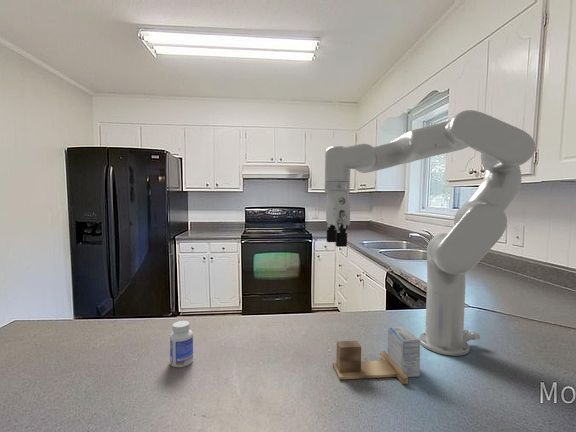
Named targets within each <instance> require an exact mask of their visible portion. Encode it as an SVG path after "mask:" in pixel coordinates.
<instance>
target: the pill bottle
mask: <svg viewBox="0 0 576 432" xmlns="http://www.w3.org/2000/svg"><path fill="white" fill-rule="evenodd" d="M190 327H191V325H190V322H189V321H187V320H180V321H179V320H178V321H176V322H174V323H173V324H172V327H171V328H172V332H171V333H170V335H169V364H170V366H172V367H174V368H184V367H187V366H190V365H191V364H192V363H193V362H194V333H193V330H191V329H190Z"/></svg>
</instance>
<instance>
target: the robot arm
mask: <svg viewBox="0 0 576 432" xmlns="http://www.w3.org/2000/svg"><path fill="white" fill-rule="evenodd" d="M467 148H470V149H473V150H475V151H476V152H478V153H480V160H481V164H482V167H483V169H484V177H483V179H482V181H481V183H480V184H479V185H478V187H477V188H476V190H475V191H473V193H472V194H471V195H470V196H469V197H468V199H467V200H466V201H465V202H464V203H463V204H462V206H461V207H460V208H459V209H458V210H457V211H456V213H455V215H454V217H453V222H454V226H453V228H451V230H450V231H449V232H447V233H445V232H444V233H438V234H437V235H435V236H433V237H432V238H431V239H429V240H430V241H429V242H428V244H427V247H426V299H425V300H426V302H425V303H426V304H425V305H426V306H425V332H423V333H421V334H420V335H419V338H418V339H419V340H420V345H422V347H424V348H426V350H427V349H428V350H430V351H432V352H434V353H437V354H440V355H445V356H453V357H458V356H465V355H467V354H468V353H469V352H470V344H469V343H468V342H470V341H471V340H472V341H478V340H480V339H481V337H480V334H479V332H469V330H467V329H465V303H466V302H465V301H466V273H468V272H470V271H471V270H472V269H474V268H475V267H476V266H477V265H478V264H479V263H480V262H481V260H483V258H485V256H486V255H487V253H489V251H490V250H491V249H492V248H493V247H494V246H495V245H496V244H497V242H498V241H500V239H501V238H502V237H503V235H504V233H505V232H506V229H507V225H508V219H507V214H506V212H505V211H506V210H507V208H508V207H509V205H510V204H511V203H512V202H513V200H514V199H515V198H516V196H518V193H519V191H520V189H521V185H522V171H521V166H522V165H524V164H525V163H527V162H529V160H531V158H532V157H533V156H534V154H535V151H536V142H535V140H534V138H533V137H532V136H531V135H530V134H529V133H528V132H526V130H523V129H521V128H518V127H517V126H514V125H512V124H510V123H507V122H505V121H502V120H501V119H498V118H496V117H493V116H491V115H489V114H487V113H484V112H482V111H478V110H475V109H474V110H472V109H468V110H462V111H460V112H458V113H456V115H455V116H453V117H452V118H451V119H450V120H449V119H448V120H446V121H442V122H439V123H434V124H432V125H427V126H422V127H420V128H415V129H412V130H409V131H406V132H405V133H404V134H402V135H401V136H400V137H398V138H395V139H394V140H392V141H389V142H387V143H384V144H380V145H378V146H377V145H376V146H373V145H371V144H369V143H368V144H367V143H359V144H354V145H346V146H343V145H340V146H339V145H335V146H330V147H327V148H326V150H325V151H324V152H325V153H324V154H325V155H324V160H325V161H324V194H327V195H326V208H325V209H326V211H325V214H326V215H325V221H326V224H327V225H326V242H327V243H335V246H336V247H337V248H338V247H339V248H341V247H343V248H344V247H347V246H348V227H349V226H350V224H351V205H350V204H351V203H350V192H351V191H350V190H351V170H356V171H357V172H358V173H362V174H366V173H373V172H376V171H381V170H384V169H388V168H392V167H395V166H396V167H397V166H400V165H404V164H410V163H413V162H416V161H421V160H424V159H428V158H432V157H435V156H440V155H445V154H449V153H453V152H458V151H462V150H464V149H467Z"/></svg>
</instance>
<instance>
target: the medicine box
mask: <svg viewBox="0 0 576 432" xmlns="http://www.w3.org/2000/svg"><path fill="white" fill-rule="evenodd" d="M387 354H388V355H389V357H390V358H391V359H392V360H393V361H394V362H395V363H396V365H397V366H398V367H399V368H400V369H401V370H402V371H403V373H404V374H405V375H406V376H407V377H408V378H413V377H414V378H416V377H417V378H418V377H420V376H421V343H420V340H419V338H417V337H416V336H415V335H414V334H413V333H412V332H411V331H410V330H408V329H407V328H406V327H404V326H402V327H401V326H396V327H388V328H387Z"/></svg>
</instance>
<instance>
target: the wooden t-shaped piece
mask: <svg viewBox="0 0 576 432" xmlns="http://www.w3.org/2000/svg"><path fill="white" fill-rule="evenodd" d="M379 357H380V359H382V360H369V361H364V360H363V361H362V346H361V344H360V343H359V341H358V340H346V341H345V340H342V341H341V340H340V341H336V362H332V367H333V369H334V371H335V373H336V376H337V377H338V380H356V379H358V380H359V379H373V378H374V379H376V378H394V377H396V378H397V379H398V380H399V382H400V383H401V384H402V385H408V384H409V377H407V376H406V375H405V374H404V373H403V371H402V370H401V369H400V368H399V367H398V366H397V365H396V363H395V362H394V361H393V360H392V359H391V358H390V357H389V355H388V352H386V351H383V350H382V351H380V356H379Z"/></svg>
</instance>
